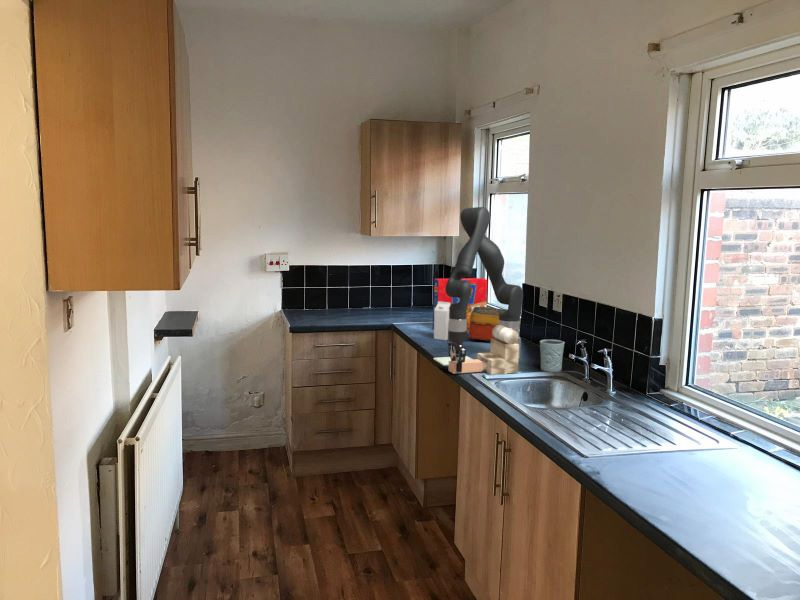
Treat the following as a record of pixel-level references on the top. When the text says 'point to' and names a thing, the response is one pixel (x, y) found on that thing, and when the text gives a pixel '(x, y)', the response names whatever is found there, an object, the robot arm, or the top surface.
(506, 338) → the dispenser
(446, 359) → the mat
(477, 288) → the pasta box
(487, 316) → the decorative box
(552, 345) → the grey green plant pot
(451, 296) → the robot arm
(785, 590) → the top surface
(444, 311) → the milk carton
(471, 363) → the peach rectangular slab
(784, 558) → the top surface
